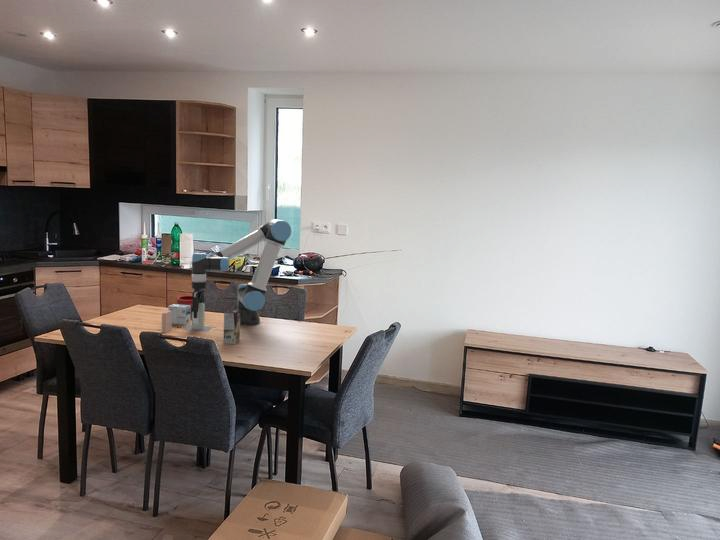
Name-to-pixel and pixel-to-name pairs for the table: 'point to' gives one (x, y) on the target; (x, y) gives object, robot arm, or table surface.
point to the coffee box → (231, 326)
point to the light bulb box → (180, 313)
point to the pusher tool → (199, 317)
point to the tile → (166, 321)
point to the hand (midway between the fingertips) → (198, 321)
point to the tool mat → (189, 328)
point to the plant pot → (185, 302)
